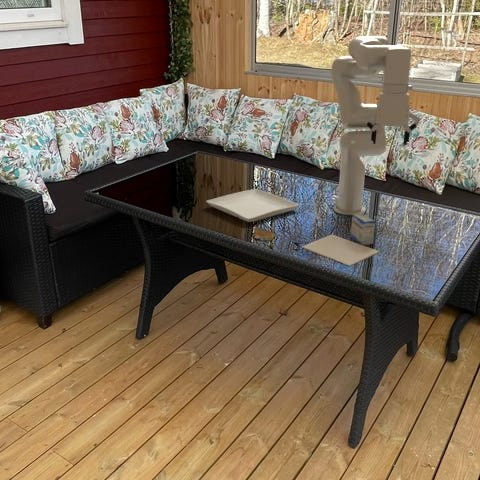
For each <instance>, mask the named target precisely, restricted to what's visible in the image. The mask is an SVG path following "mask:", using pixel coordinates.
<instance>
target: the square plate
mask: <svg viewBox="0 0 480 480" xmlns="http://www.w3.org/2000/svg"><path fill="white" fill-rule="evenodd" d="M205 202H206V204H207V203H208V205H209V206H211V207H212V208H215V209H217V210H219V211H221V212H224V213H226V214H228V215H231V216H233V217H236V218H237V217H238V219H240V220H242V221H245V222H247V223H251V222H257V221H260V220H264V219H267V218H270V217H273V216H274V217H275V216H277V215H281V214H285V213H288V212H291V211H294V210H295V209H297V208H298V207H300V204H299V203H296V202H295V201H291V200H289V199H287V198H284V197H281V196H279V195H276V194H273V193H270V192H267V191H264V190H261V189H258V188H251V189H247V190H244V191H238V192H233V193H230V194H226V195H222V196H219V197H215V198H212V199H207V200H206V201H205Z"/></svg>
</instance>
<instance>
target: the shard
mask: <svg viewBox="0 0 480 480" xmlns="http://www.w3.org/2000/svg"><path fill="white" fill-rule="evenodd" d="M276 236H277V234H276V233H275V232H273V231H270V230H268V229H265V228H262V227H259V226H256V225H255V231H254V239H255V238H261V239H269V240H271V241H272V240H273V239H274V238H275V237H276ZM269 240H268V241H269Z"/></svg>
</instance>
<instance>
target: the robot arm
mask: <svg viewBox="0 0 480 480" xmlns="http://www.w3.org/2000/svg"><path fill="white" fill-rule="evenodd" d="M347 49H348V50H347V51H348V55H345V56H339V57H337V58H336V59H334V60H333V62H332V64H331V71H330V72H331V80H332V84H333V87H334V89H335V92H336V93H337V98H338V108H339V116H340V122H341V125H342V127H343V128H344V129H345V130H350V131H347V132H345V133H343V134H342V135H341V136H340V139H339V151H340V152H339V153H340V165H339V167H340V169H339V183H338V184H339V185H338V195H335V194H334V195H332V197H331V199H330V201H331V202H333V203H335V204H334V206H333V211H334V212H335V213H337V214H340V215H343V216H344V215H346V216H353V215H355V214H365V212H366V211H367V210H366V207H365V206H364V205H363V197H364V187H365V179H366V177H365V175H366V167H365V164H364V162H363V161H362V160H361V158H362V157H373V156H374V157H375V156H377V157H378V156H381V155H383V154H385V152H386V148H387V136H386V129H385V128H386V127H401V128H402V127H403V128H404V134H403V142H402V143H403V146H407V143H409V141H410V134H411V132H412V131H413V130H414V129H416V128H417V126H418V125H419V123H420V121H421V118H420V117H419V116H417V115H415V114H413V113H411V112H410V93H409V91H413V87H414V86H413V85H411V84H409V79H410V69H411V61H412V60H411V59H412V50H411V48H409V47H403V46H402V45H398V44H395V45H394V44H393V45H391V44H390V41H389V39H388V38H387V37H386V36H383V35H363V36H362V35H361V36H357V37H354V38H352V39H351V41H350V42H349V44H348V47H347ZM381 71H383V79H382V80H383V81H382V92H379V95H378V99H377V104H376V103H363V102H362V98H361V92H360V89H359V88H358V87H357V85H356V84H355V83H353V82H352V81H351V80H372V79H374V78H376V77H377V76H378V75H379V74H380V72H381ZM410 119H412V120H413V123H412V124H411V125H409V120H410Z"/></svg>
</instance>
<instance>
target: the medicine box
mask: <svg viewBox="0 0 480 480" xmlns="http://www.w3.org/2000/svg"><path fill="white" fill-rule="evenodd" d="M375 227H376V220H374V219H373V218H371V217H369V216H368V215H366V214H365V213H363V214H355V215H352V217H351V228H350V239H352V240H353V241H354V242H357V244H360V245H363V246H367V245H368V246H369V245H373V244H374V237H375V230H376V229H375Z"/></svg>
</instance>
